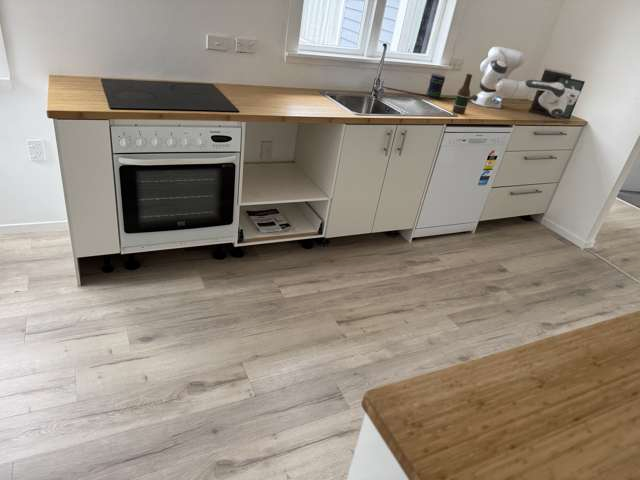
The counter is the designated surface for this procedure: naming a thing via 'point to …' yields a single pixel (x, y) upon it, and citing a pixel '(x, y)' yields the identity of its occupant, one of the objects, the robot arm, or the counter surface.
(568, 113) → the glass door
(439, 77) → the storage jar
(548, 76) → the display cabinet
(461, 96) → the beer bottle
